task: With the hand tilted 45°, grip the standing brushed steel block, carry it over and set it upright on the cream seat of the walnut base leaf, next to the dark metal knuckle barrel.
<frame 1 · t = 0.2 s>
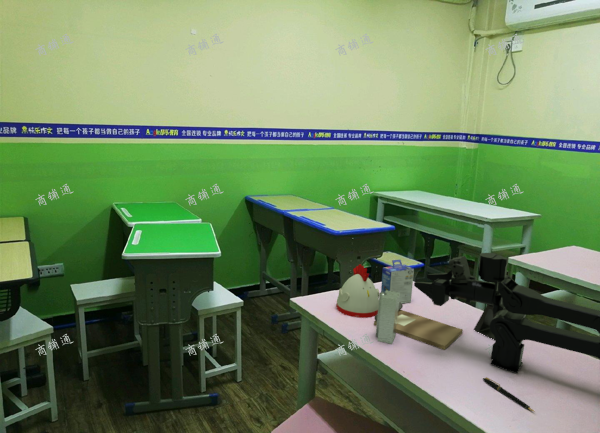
hand: (420, 279, 130), 17 cm above the table, tool horizontal, fingers open, 9 cm apart
kitchen timer: (357, 309, 149), on the table
ink cartridge box: (395, 302, 157), on the table
phone stand: (492, 335, 135), on the table
walnut base leaf: (417, 329, 136), on the table
brushed steel block: (386, 338, 129), on the table
fountain pen: (506, 397, 104), on the table
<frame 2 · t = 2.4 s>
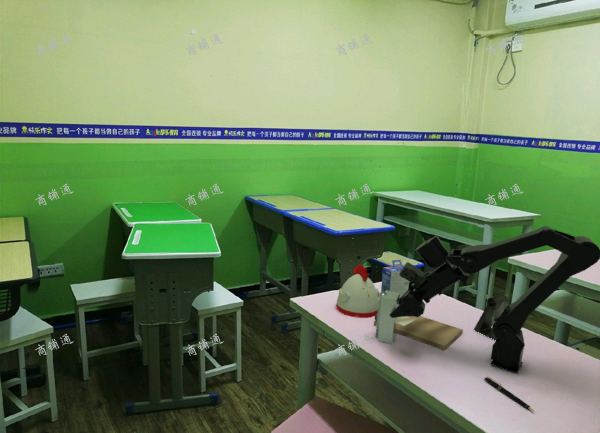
hand: (393, 310, 127), 9 cm above the table, tool tilted 45°, fingers open, 9 cm apart
nothing on the table moved.
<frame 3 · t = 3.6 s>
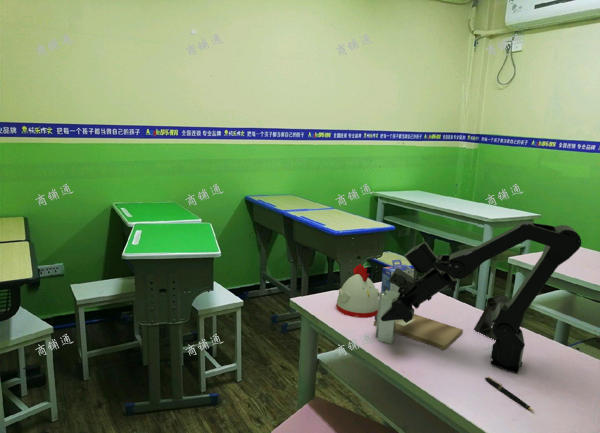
hand: (383, 315, 128), 7 cm above the table, tool tilted 45°, fingers closed on brushed steel block, 6 cm apart
brushed steel block: (386, 338, 129), on the table, touching gripper
everything else where it was.
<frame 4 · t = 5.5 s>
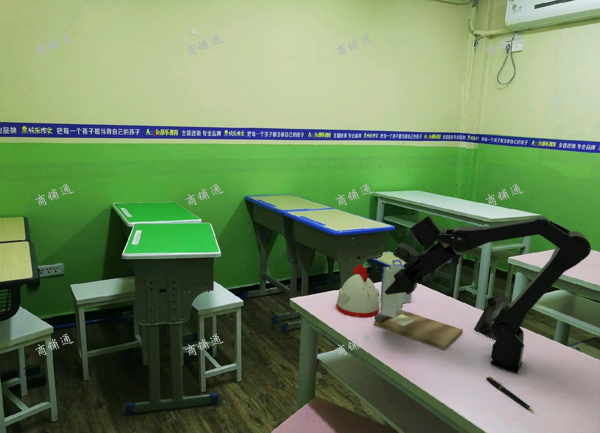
hand: (388, 289, 129), 13 cm above the table, tool tilted 45°, fingers closed on brushed steel block, 6 cm apart
brushed steel block: (391, 312, 130), point 7 cm above the table, touching gripper
everything else where it was.
when the fingers open (9 cm above the table, at t = 7.6 s): brushed steel block drops 1 cm, resting on walnut base leaf.
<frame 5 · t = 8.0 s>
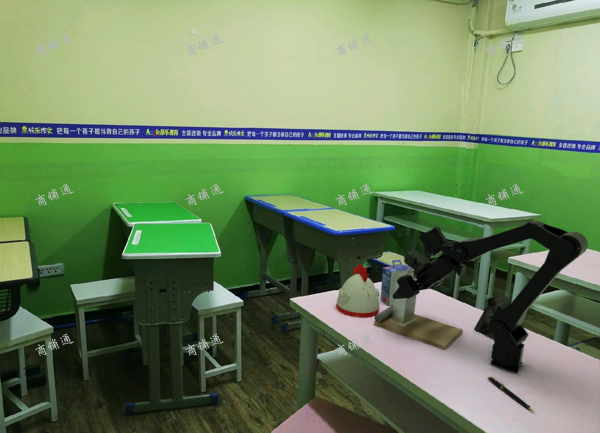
hand: (401, 294, 138), 9 cm above the table, tool tilted 45°, fingers open, 9 cm apart
brushed steel block: (402, 319, 139), point 1 cm above the table, touching walnut base leaf
everything else where it was.
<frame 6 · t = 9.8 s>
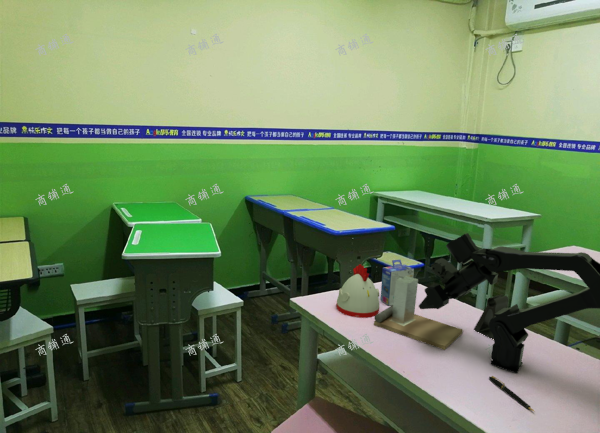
hand: (427, 303, 132), 9 cm above the table, tool tilted 45°, fingers open, 9 cm apart
nothing on the table moved.
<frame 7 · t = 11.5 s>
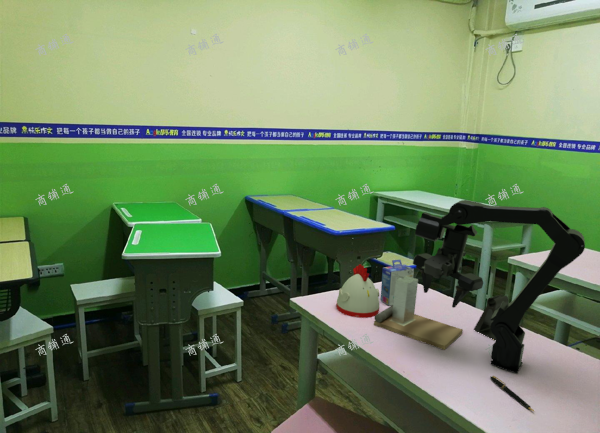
hand: (439, 299, 125), 13 cm above the table, tool pointing down, fingers open, 9 cm apart
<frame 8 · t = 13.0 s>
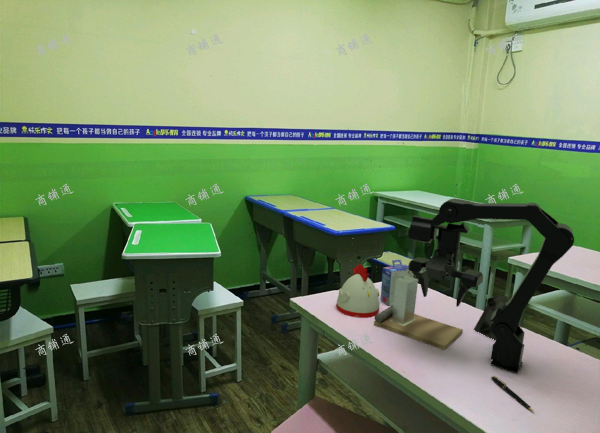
hand: (440, 301, 124), 13 cm above the table, tool pointing down, fingers open, 9 cm apart
at the end: brushed steel block 0.0 cm from the target spot on the walnut base leaf, point 1.3 cm above the walnut base leaf's base; brushed steel block tilted 0°; the gripper is holding nothing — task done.
